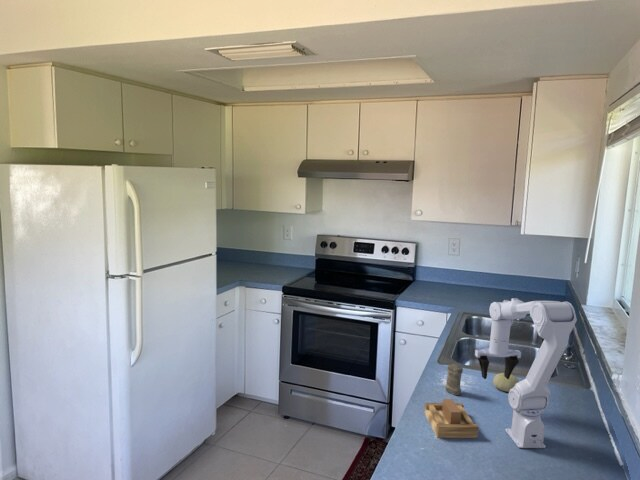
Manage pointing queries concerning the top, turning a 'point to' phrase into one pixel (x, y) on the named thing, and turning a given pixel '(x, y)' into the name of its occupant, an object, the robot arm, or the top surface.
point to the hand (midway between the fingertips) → (495, 377)
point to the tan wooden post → (451, 411)
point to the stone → (454, 379)
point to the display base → (450, 430)
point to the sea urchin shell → (504, 382)
